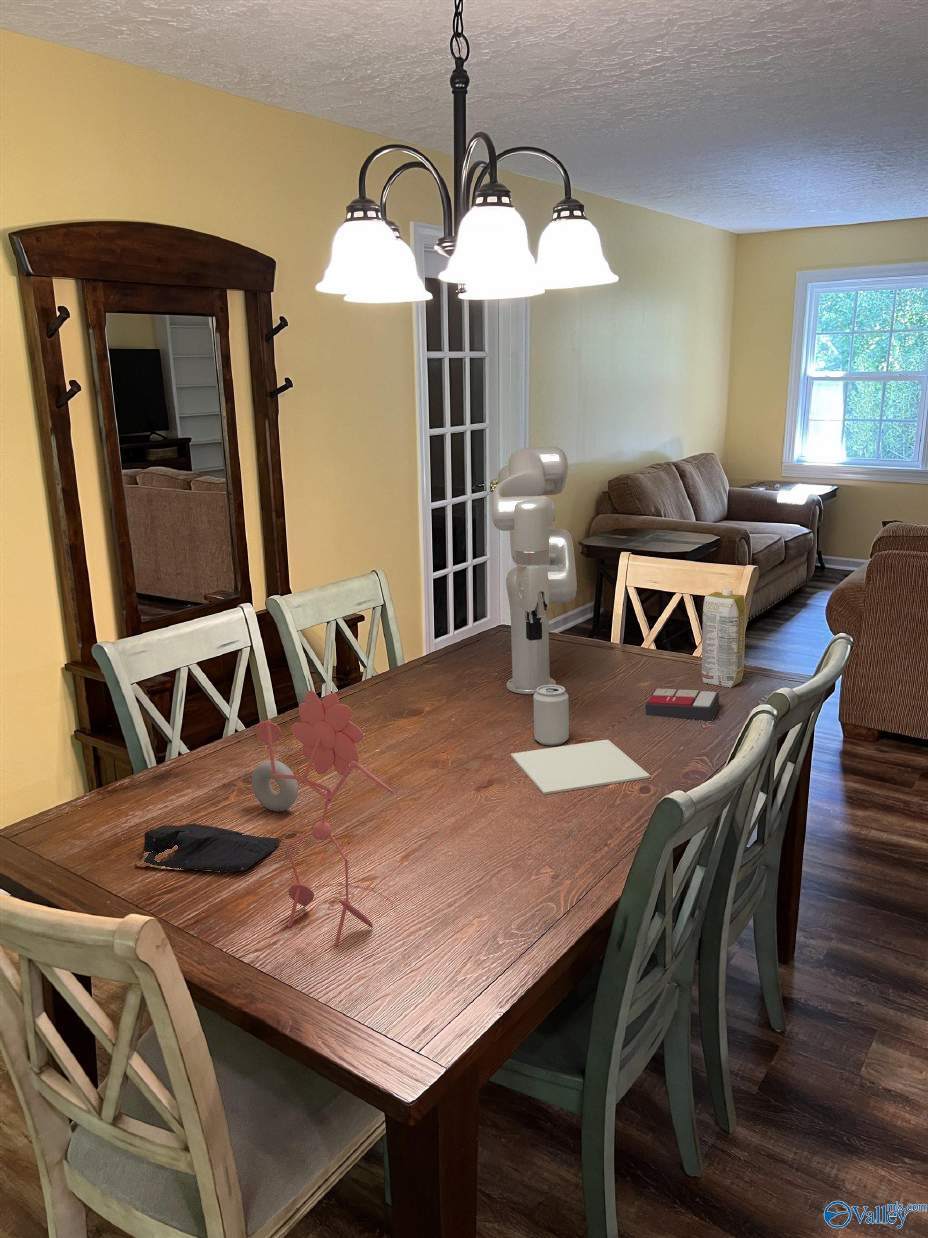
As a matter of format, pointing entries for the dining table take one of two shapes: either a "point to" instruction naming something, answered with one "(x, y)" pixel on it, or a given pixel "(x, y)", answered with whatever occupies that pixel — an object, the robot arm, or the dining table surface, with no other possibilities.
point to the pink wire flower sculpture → (326, 745)
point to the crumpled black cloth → (206, 847)
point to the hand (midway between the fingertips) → (534, 639)
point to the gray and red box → (683, 704)
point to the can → (551, 715)
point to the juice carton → (723, 638)
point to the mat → (578, 766)
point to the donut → (265, 790)
